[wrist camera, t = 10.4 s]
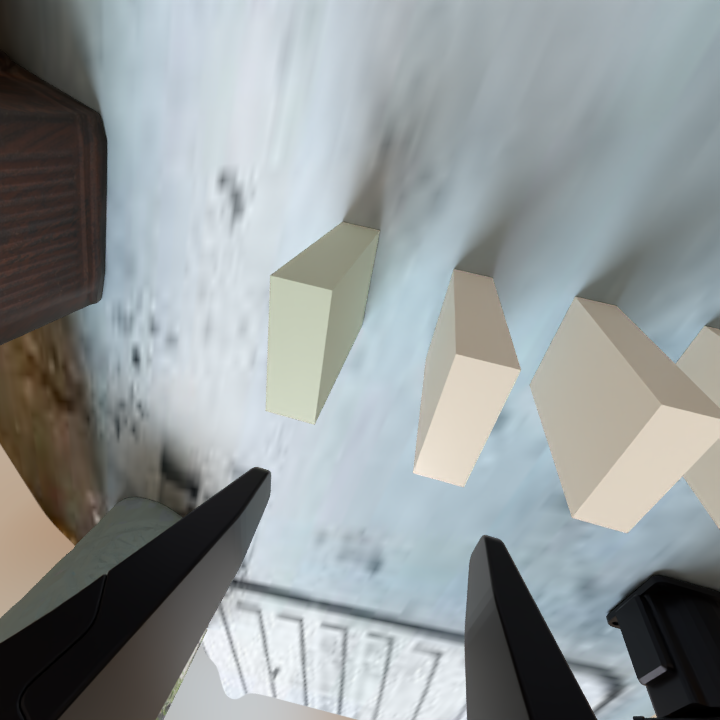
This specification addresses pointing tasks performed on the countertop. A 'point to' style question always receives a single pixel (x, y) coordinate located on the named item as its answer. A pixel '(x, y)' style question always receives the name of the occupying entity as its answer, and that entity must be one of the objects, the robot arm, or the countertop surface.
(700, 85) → the countertop surface
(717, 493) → the domino
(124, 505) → the grey-green tapered cup
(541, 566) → the countertop surface
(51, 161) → the manual coffee grinder
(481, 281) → the domino
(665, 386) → the domino
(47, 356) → the countertop surface
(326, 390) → the domino
